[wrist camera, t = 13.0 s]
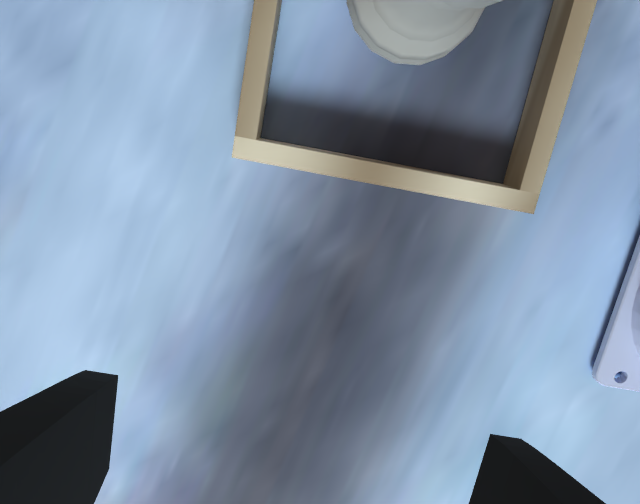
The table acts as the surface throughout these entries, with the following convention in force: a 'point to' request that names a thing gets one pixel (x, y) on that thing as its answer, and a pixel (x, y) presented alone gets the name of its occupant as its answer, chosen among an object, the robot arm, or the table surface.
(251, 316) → the table surface
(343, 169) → the beige square frame
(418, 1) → the rook chess piece
